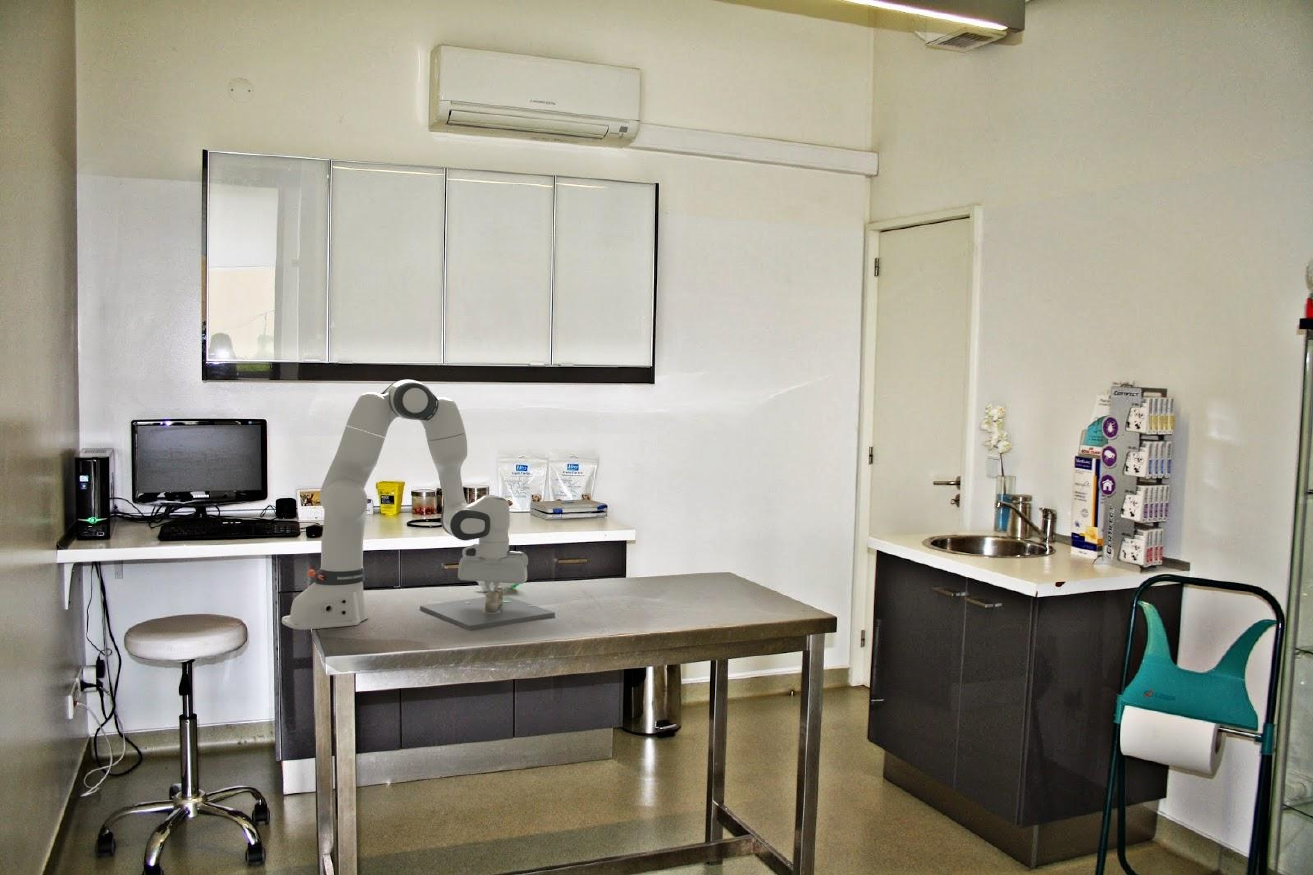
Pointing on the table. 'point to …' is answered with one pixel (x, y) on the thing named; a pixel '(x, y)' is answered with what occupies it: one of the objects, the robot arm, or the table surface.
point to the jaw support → (503, 585)
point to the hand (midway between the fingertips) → (491, 596)
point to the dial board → (475, 616)
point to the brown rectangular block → (493, 600)
